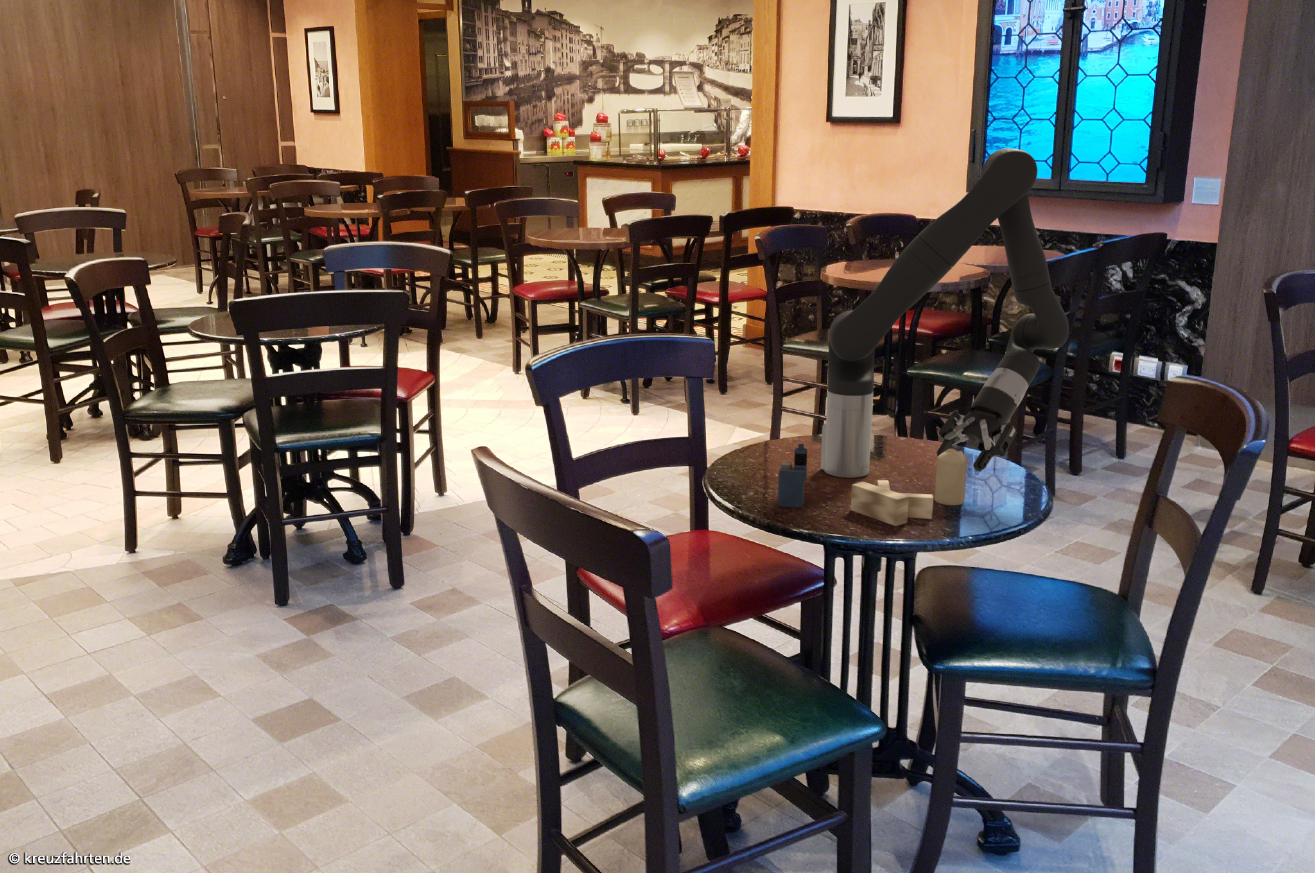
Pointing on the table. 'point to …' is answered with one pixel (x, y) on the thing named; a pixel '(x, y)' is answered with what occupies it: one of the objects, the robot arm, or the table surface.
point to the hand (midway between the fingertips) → (958, 464)
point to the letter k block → (889, 503)
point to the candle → (951, 477)
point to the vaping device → (793, 480)
